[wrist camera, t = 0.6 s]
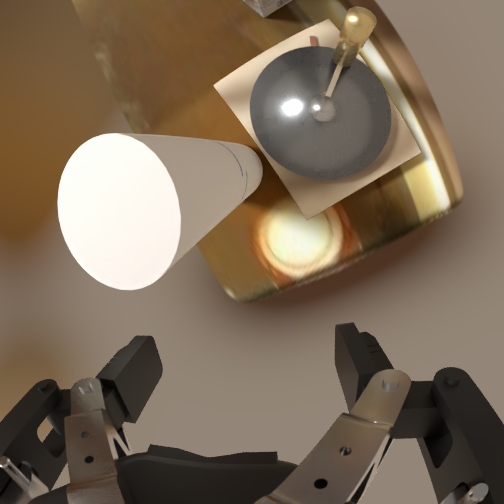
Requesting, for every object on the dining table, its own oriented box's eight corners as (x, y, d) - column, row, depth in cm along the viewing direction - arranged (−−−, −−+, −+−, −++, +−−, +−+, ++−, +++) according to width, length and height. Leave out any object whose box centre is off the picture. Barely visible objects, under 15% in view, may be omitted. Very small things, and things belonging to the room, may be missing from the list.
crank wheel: (358, 201, 30) (390, 229, 19) (231, 148, 31) (194, 146, 20) (404, 84, 24) (452, 57, 13) (279, 31, 25) (268, -22, 13)
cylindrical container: (250, 134, 32) (142, 101, 9) (271, 187, 34) (209, 267, 11) (199, 156, 34) (42, 179, 11) (219, 206, 36) (95, 302, 13)
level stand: (217, 88, 30) (212, 84, 28) (327, 25, 25) (328, 17, 23) (306, 216, 34) (307, 220, 32) (415, 152, 29) (422, 152, 27)
